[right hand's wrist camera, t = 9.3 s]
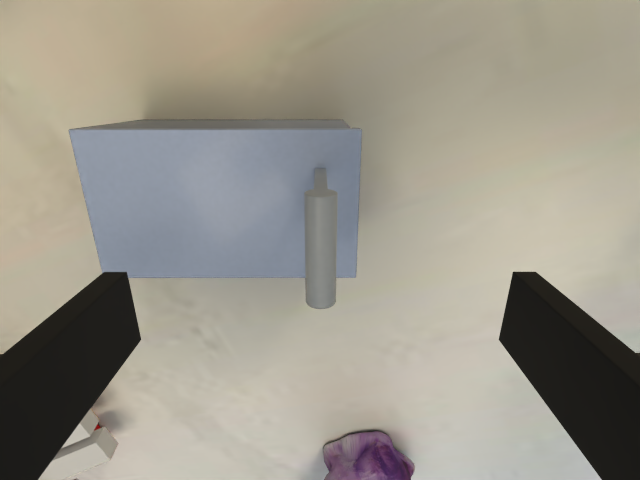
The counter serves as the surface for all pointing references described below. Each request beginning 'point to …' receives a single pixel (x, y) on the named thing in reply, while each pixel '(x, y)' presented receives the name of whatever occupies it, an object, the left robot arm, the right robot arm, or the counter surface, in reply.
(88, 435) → the toy
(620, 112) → the counter surface
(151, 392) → the counter surface
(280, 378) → the counter surface
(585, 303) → the counter surface
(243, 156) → the lid
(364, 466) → the figurine
